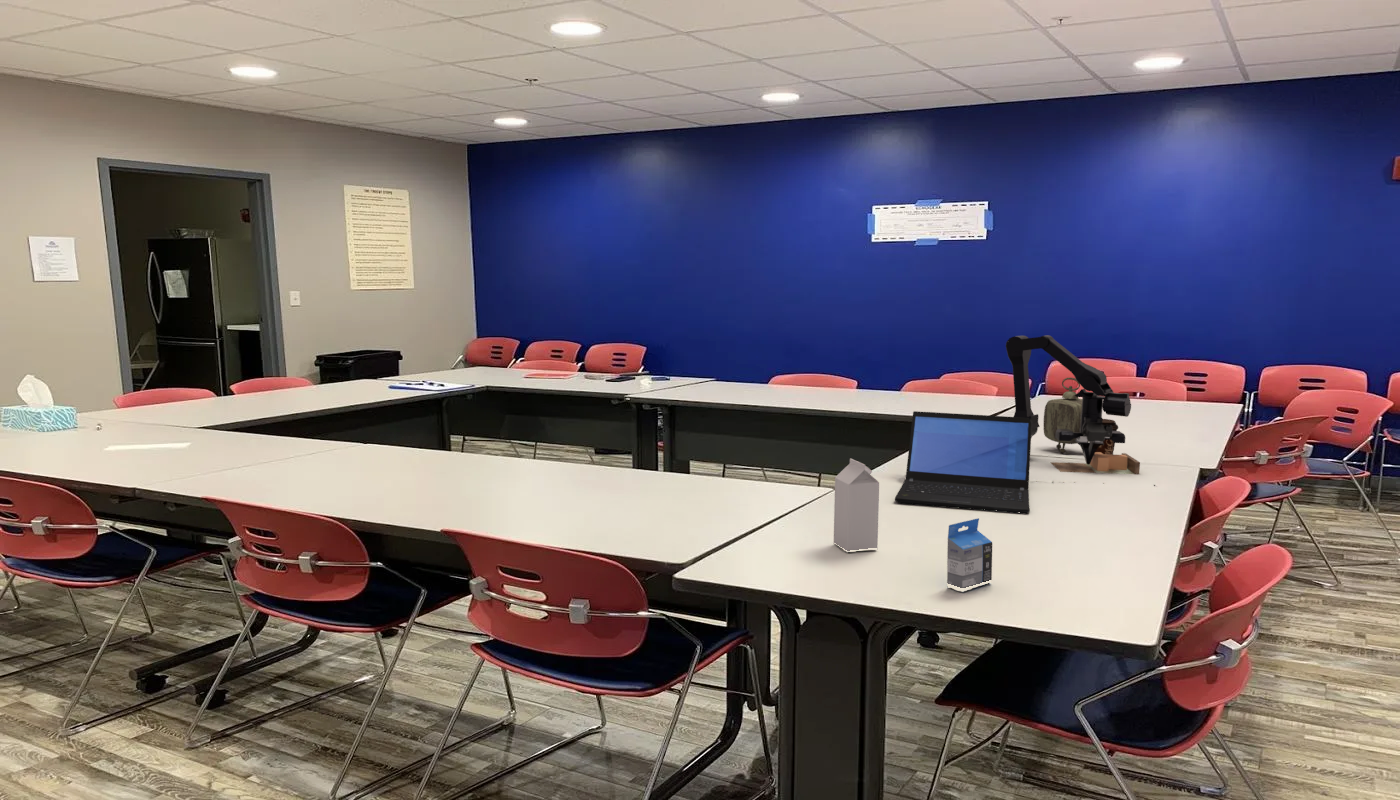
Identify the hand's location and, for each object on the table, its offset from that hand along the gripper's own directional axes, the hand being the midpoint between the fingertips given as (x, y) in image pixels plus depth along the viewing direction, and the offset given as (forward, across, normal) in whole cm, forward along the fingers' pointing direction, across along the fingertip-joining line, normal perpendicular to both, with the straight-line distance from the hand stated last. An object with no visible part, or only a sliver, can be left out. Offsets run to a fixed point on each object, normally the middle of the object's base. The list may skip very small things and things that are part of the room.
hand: (1088, 464), depth 284 cm
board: (+2, +2, 0) cm, 3 cm away
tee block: (+1, +6, 0) cm, 6 cm away
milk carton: (+3, -70, -92) cm, 116 cm away
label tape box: (+3, -49, -114) cm, 124 cm away
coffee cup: (+2, +9, +18) cm, 20 cm away
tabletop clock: (+2, 0, +30) cm, 30 cm away
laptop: (+3, -40, -35) cm, 54 cm away
